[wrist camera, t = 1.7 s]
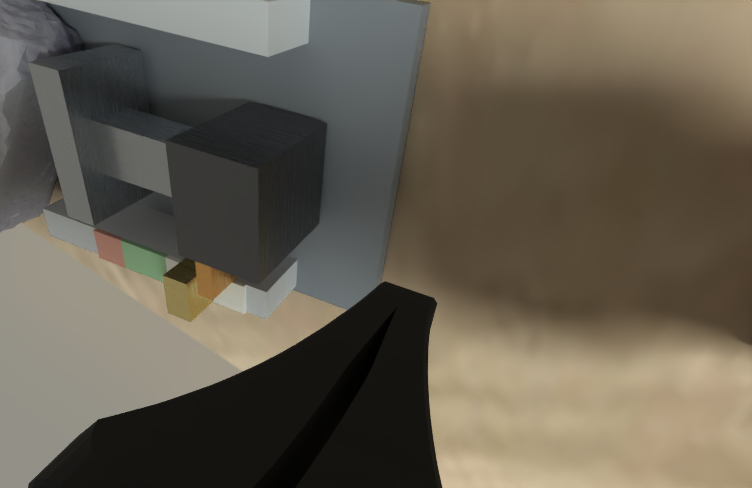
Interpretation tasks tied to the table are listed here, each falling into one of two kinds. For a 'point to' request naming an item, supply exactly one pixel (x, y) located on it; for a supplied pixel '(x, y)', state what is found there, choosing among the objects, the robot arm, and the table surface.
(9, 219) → the stone block
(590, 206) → the table surface
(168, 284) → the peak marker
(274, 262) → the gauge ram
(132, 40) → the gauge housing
